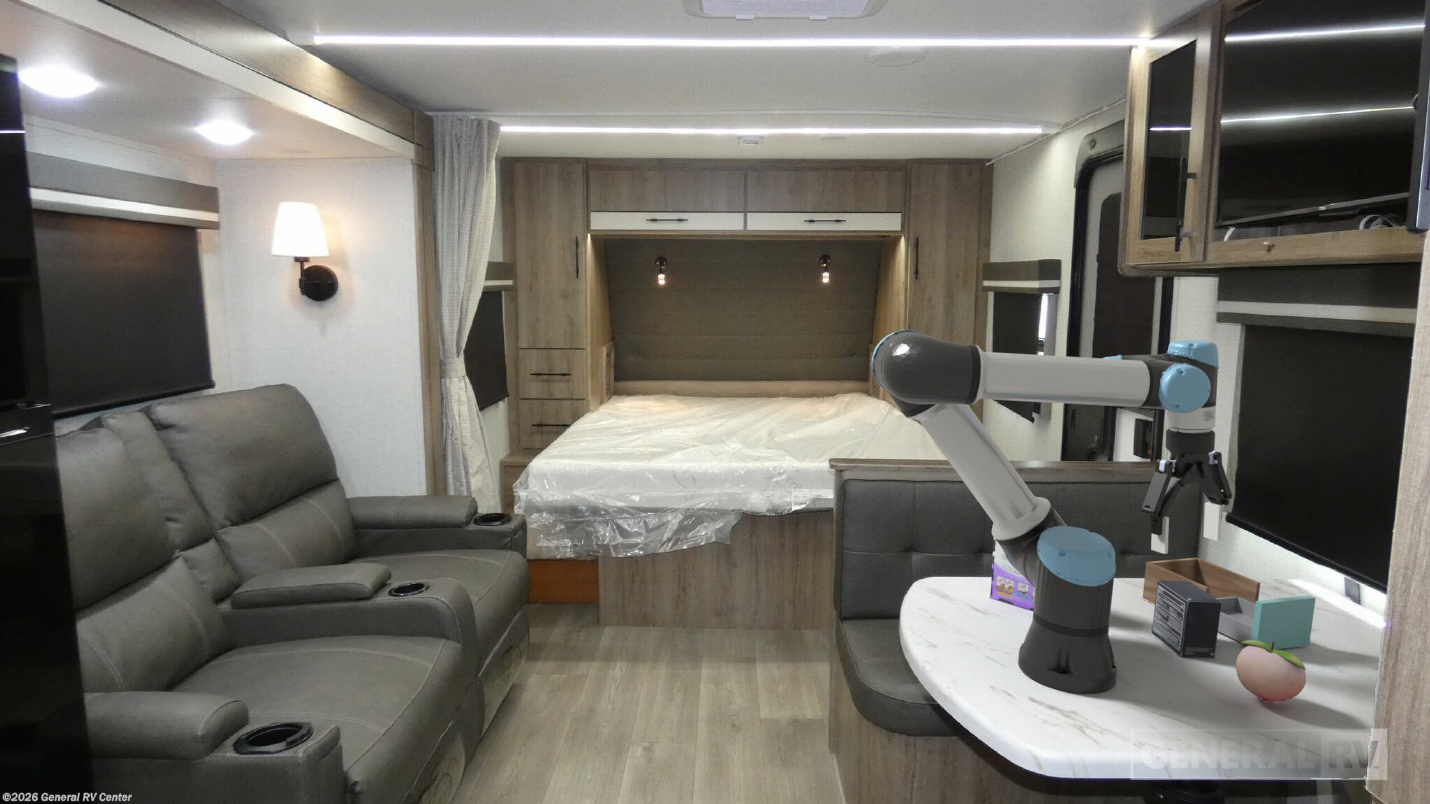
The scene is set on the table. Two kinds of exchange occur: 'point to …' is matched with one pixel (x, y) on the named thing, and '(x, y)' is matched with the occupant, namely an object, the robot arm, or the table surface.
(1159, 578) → the cubby
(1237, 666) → the decorative fruit
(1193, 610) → the small box
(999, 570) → the candy box
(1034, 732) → the table surface
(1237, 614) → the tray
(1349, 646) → the table surface
